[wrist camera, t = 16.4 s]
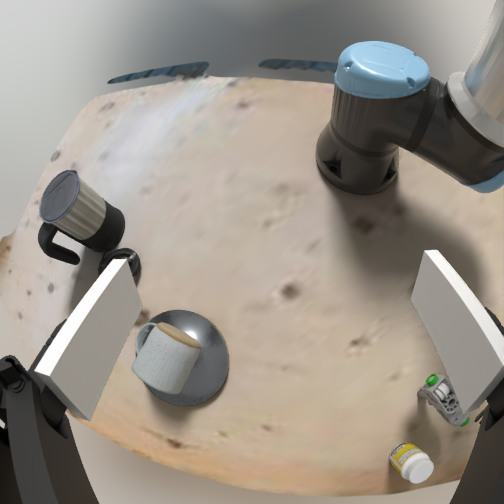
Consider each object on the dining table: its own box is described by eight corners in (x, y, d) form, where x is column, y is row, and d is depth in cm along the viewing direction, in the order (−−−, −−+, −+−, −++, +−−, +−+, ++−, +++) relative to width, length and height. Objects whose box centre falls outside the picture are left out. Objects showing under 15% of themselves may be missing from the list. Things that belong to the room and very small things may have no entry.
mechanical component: (430, 416, 32) (461, 431, 22) (397, 378, 35) (426, 388, 25) (442, 403, 32) (475, 414, 23) (410, 364, 35) (442, 370, 26)
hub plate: (146, 303, 43) (142, 302, 42) (235, 318, 41) (233, 317, 40) (135, 390, 39) (131, 391, 38) (222, 413, 37) (220, 415, 36)
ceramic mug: (210, 344, 39) (192, 344, 32) (187, 390, 37) (165, 400, 30) (153, 311, 42) (127, 304, 34) (132, 355, 40) (104, 355, 33)
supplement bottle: (410, 463, 30) (430, 482, 22) (385, 467, 30) (402, 489, 22) (417, 439, 31) (439, 455, 23) (392, 442, 32) (411, 461, 24)
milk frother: (99, 204, 51) (55, 167, 36) (161, 216, 48) (119, 173, 33) (74, 269, 47) (21, 247, 33) (134, 294, 44) (78, 274, 30)
